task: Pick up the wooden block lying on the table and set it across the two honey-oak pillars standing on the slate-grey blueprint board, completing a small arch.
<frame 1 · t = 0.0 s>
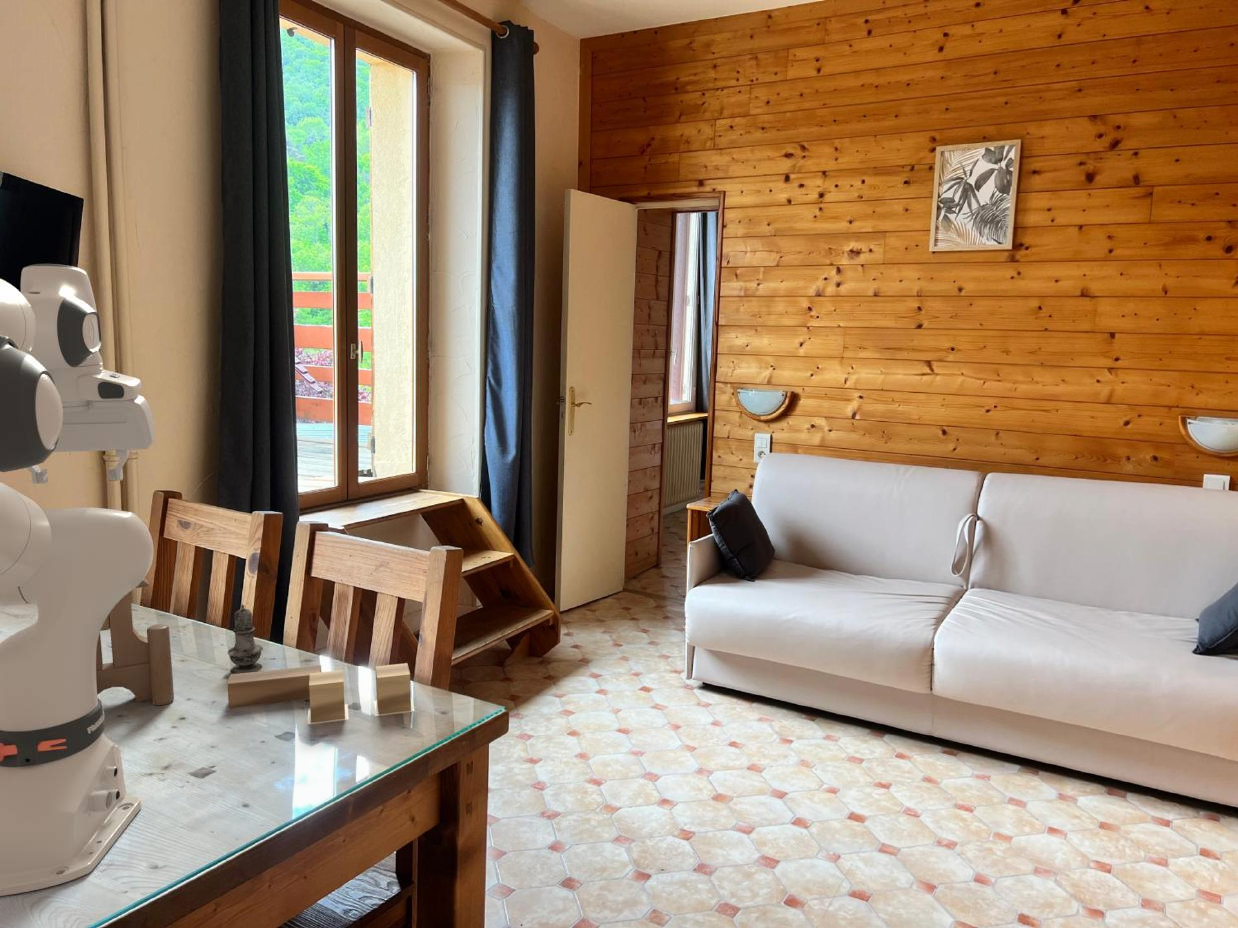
hand: (79, 481, 125), 39 cm above the table, tool pointing down, fingers open, 8 cm apart
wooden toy: (120, 706, 143), on the table
salt shaker: (246, 669, 159), on the table
blueprint board: (361, 713, 140), on the table
pillar near: (328, 713, 139), point 1 cm above the table, touching blueprint board
pillar far: (393, 705, 142), point 1 cm above the table, touching blueprint board
wooden block: (277, 703, 145), on the table
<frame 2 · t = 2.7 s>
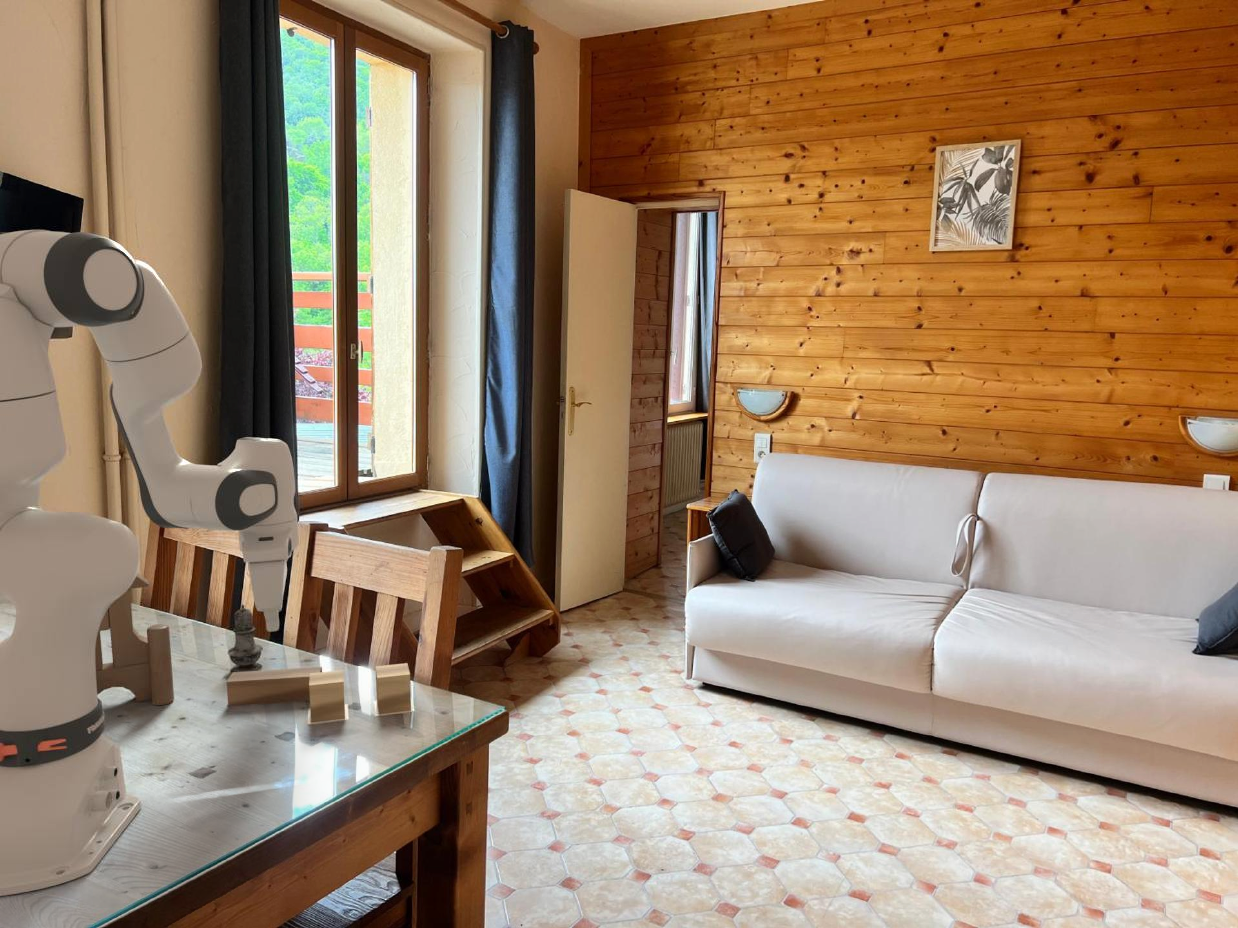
hand: (274, 620, 143), 14 cm above the table, tool pointing down, fingers open, 8 cm apart
nothing on the table moved.
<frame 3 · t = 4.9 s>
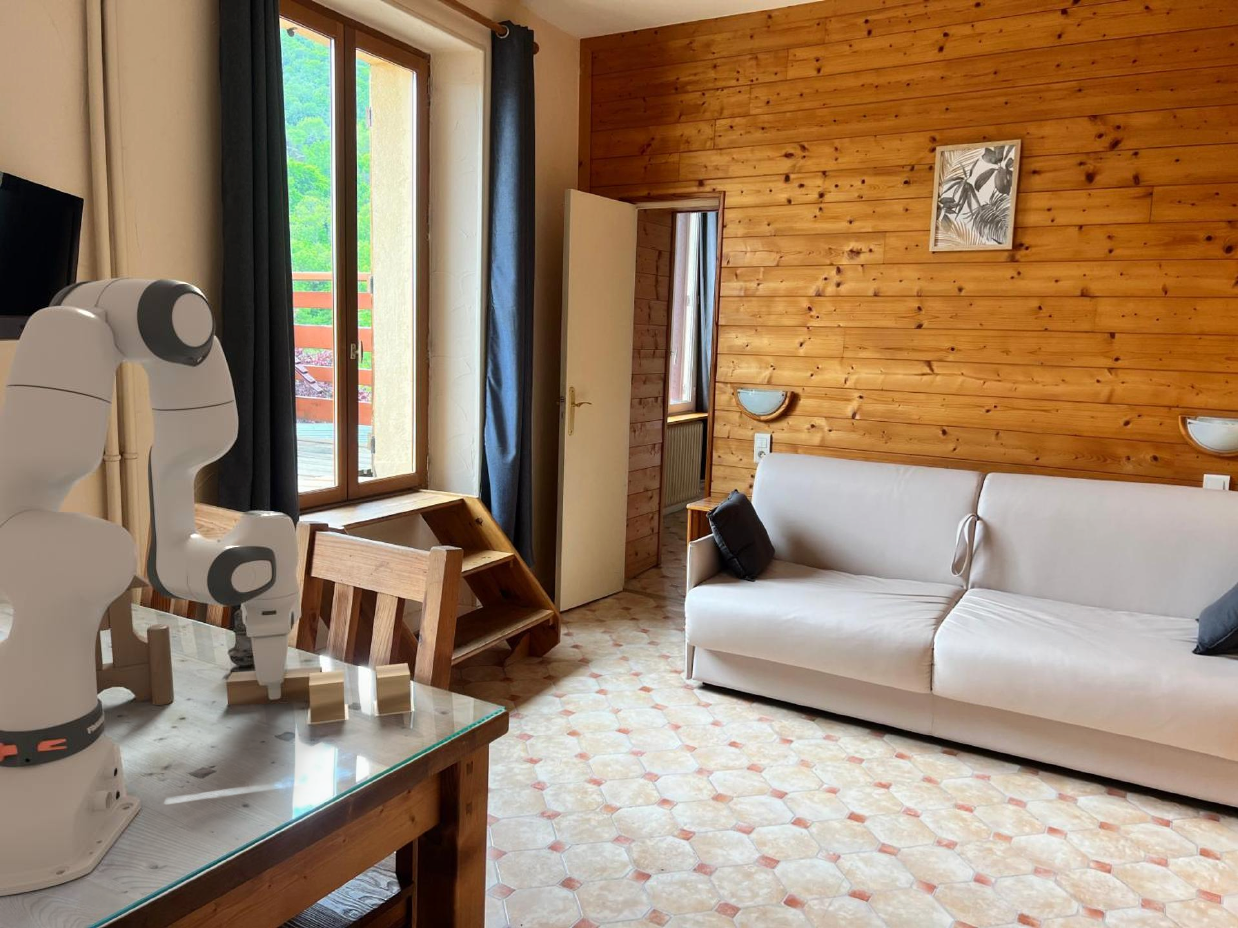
hand: (276, 690, 145), 2 cm above the table, tool pointing down, fingers closed on wooden block, 4 cm apart
wooden block: (276, 703, 145), on the table, touching gripper
everything else where it was.
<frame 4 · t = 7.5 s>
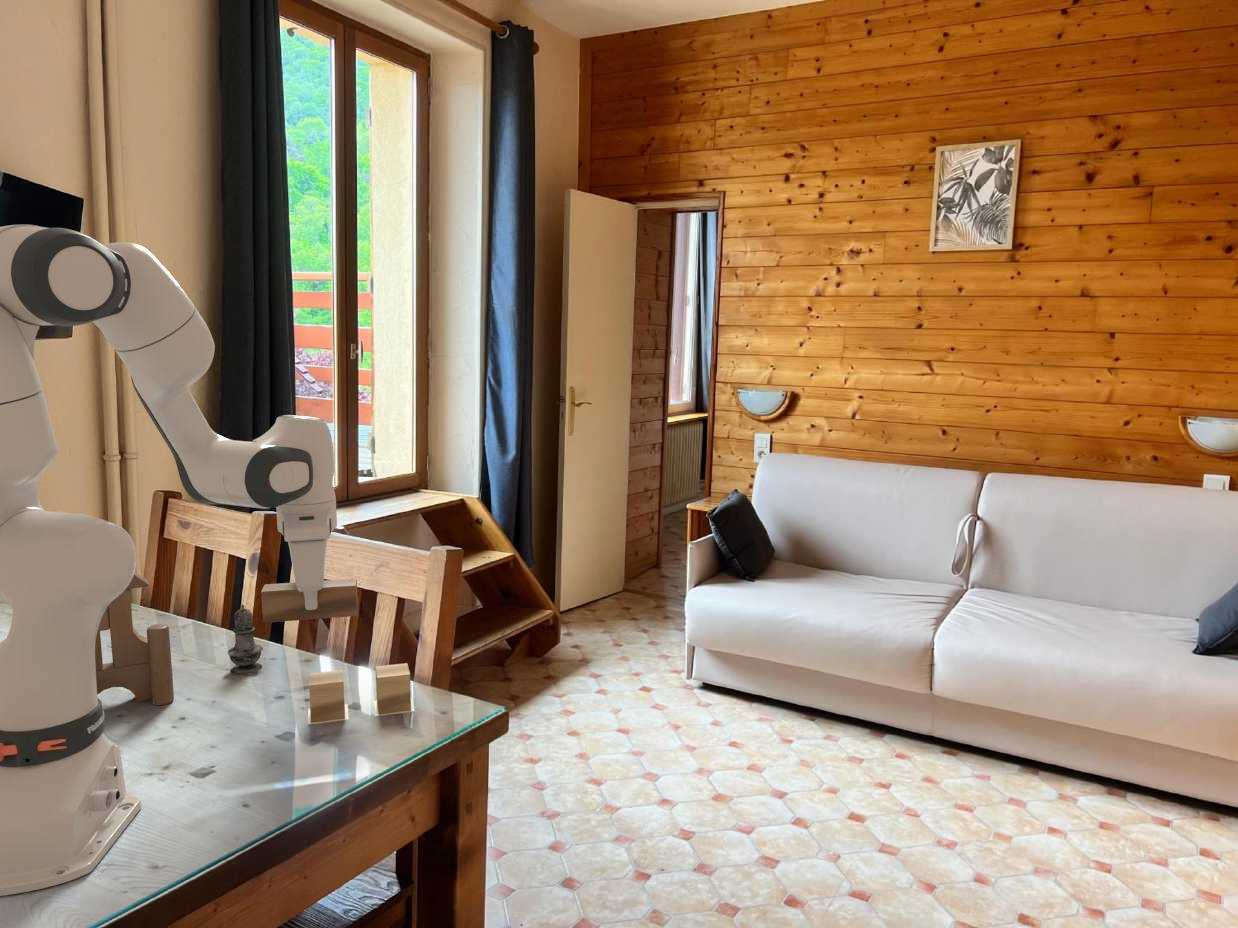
hand: (311, 603, 141), 17 cm above the table, tool pointing down, fingers closed on wooden block, 4 cm apart
wooden block: (311, 615, 141), point 15 cm above the table, touching gripper
everything else where it was.
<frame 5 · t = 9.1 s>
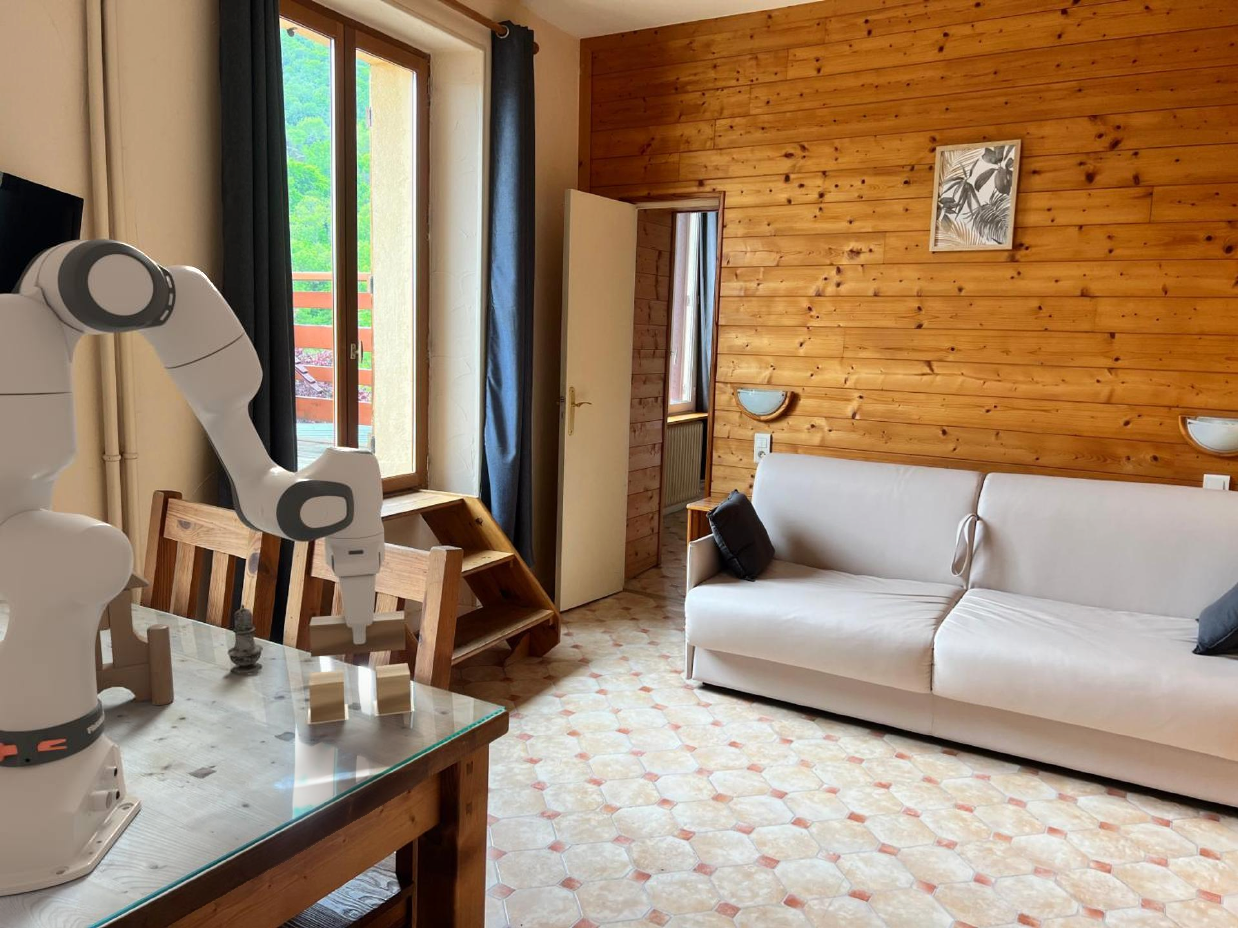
hand: (359, 636, 139), 13 cm above the table, tool pointing down, fingers closed on wooden block, 4 cm apart
wooden block: (359, 648, 139), point 11 cm above the table, touching gripper
everything else where it was.
when the fingers open (10 cm above the table, at t = 10.0 s): wooden block drops 1 cm, resting on pillar far, pillar near.
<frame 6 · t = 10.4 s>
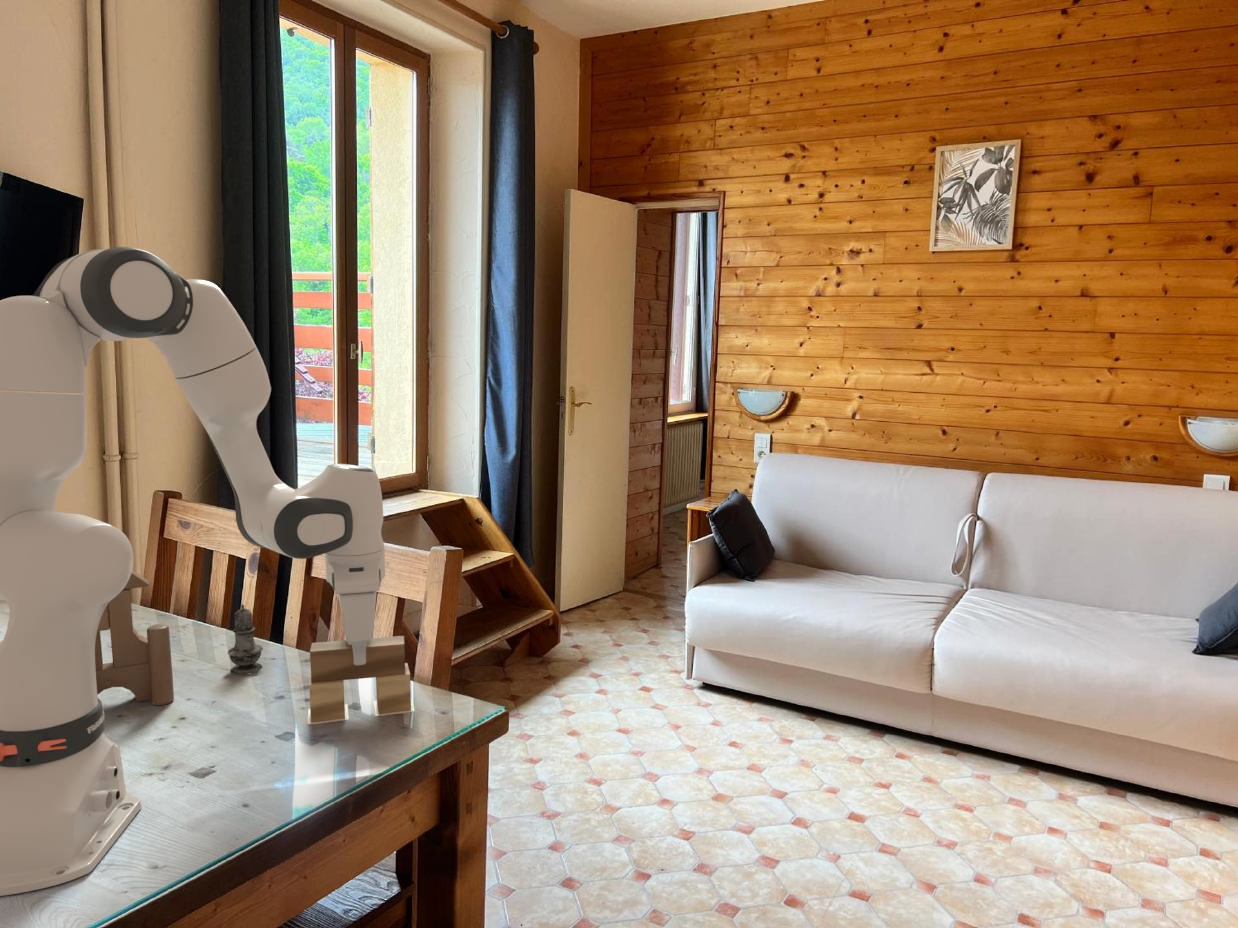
hand: (358, 653, 139), 10 cm above the table, tool pointing down, fingers open, 8 cm apart
pillar near: (328, 713, 139), point 1 cm above the table, touching blueprint board, wooden block
pillar far: (393, 705, 142), point 1 cm above the table, touching blueprint board, wooden block
wooden block: (359, 673, 139), point 7 cm above the table, touching pillar far, pillar near
everything else where it was.
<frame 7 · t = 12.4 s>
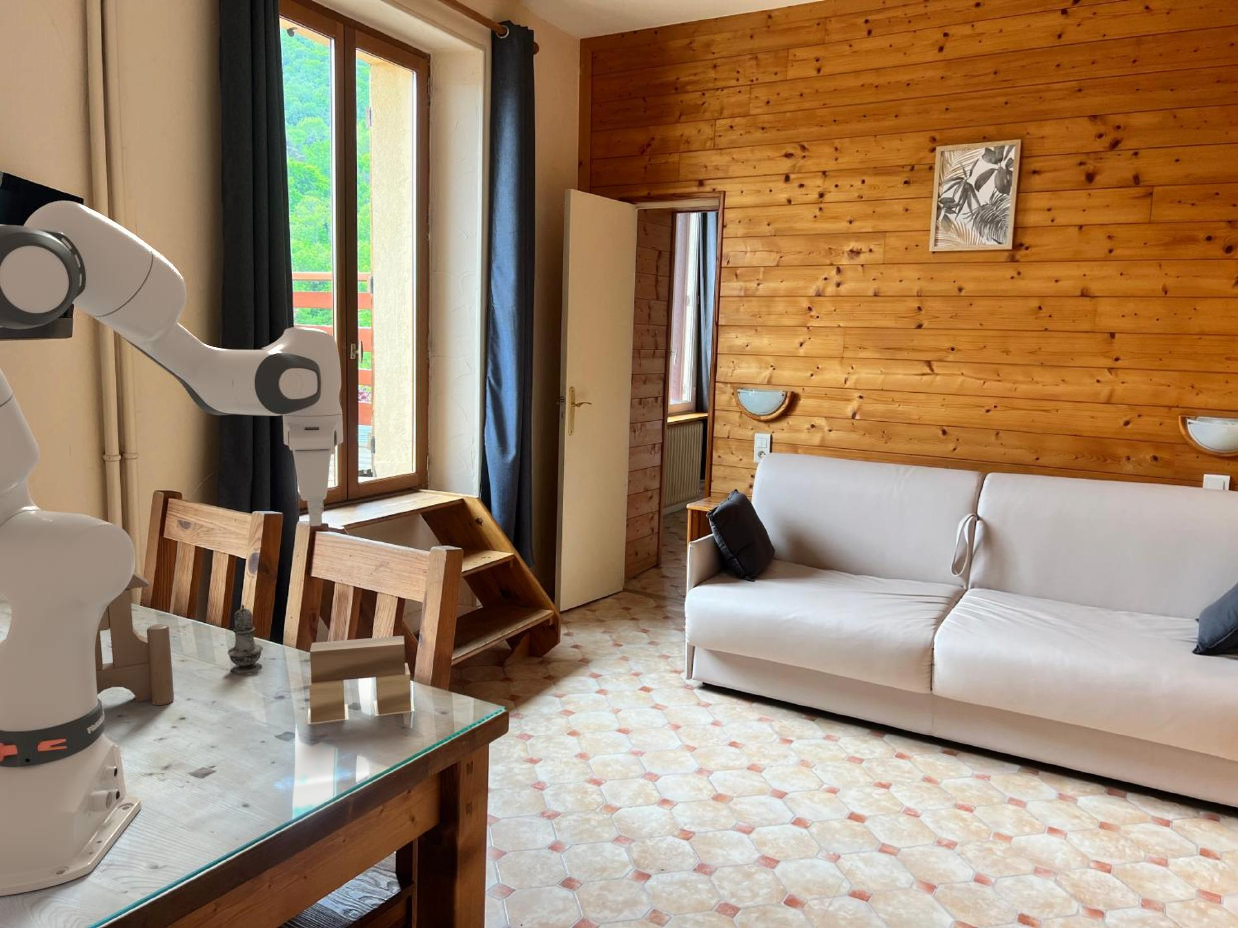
hand: (316, 519, 141), 30 cm above the table, tool pointing down, fingers open, 8 cm apart
nothing on the table moved.
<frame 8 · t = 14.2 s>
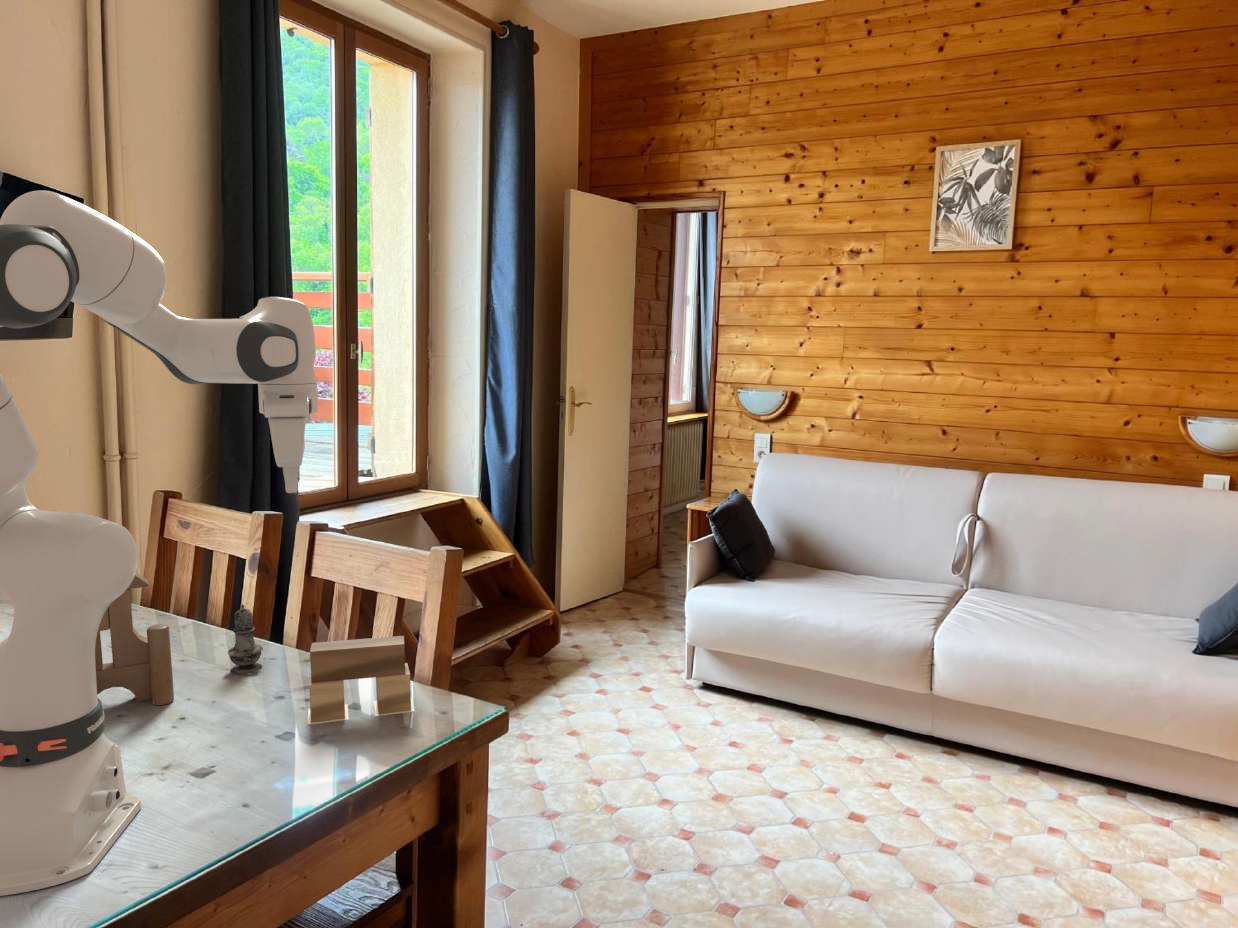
hand: (293, 487, 143), 35 cm above the table, tool pointing down, fingers open, 8 cm apart
nothing on the table moved.
at the end: wooden block inside the target area (0.1 cm from its centre), point 6.7 cm above the table; wooden block tilted 0°; the gripper is holding nothing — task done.
